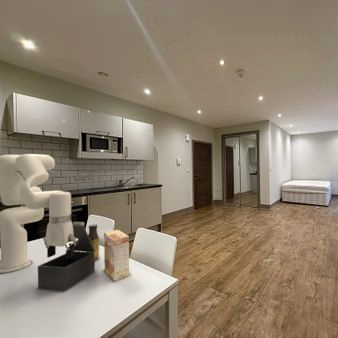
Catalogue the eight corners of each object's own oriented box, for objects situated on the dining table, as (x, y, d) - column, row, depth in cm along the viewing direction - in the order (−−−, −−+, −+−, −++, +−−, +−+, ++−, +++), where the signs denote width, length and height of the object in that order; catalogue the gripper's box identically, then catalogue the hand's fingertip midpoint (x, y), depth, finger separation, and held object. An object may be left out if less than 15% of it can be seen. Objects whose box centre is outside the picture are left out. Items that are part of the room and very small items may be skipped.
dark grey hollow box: (64, 291, 82) (64, 268, 82) (37, 288, 84) (37, 266, 84) (94, 271, 97) (94, 252, 97) (71, 269, 99) (71, 250, 99)
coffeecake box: (103, 270, 98) (103, 232, 98) (118, 264, 104) (118, 229, 104) (113, 281, 88) (113, 239, 88) (129, 275, 93) (129, 235, 93)
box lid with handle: (82, 226, 90) (90, 219, 95) (57, 225, 92) (66, 218, 97) (94, 252, 97) (101, 244, 101) (70, 250, 99) (78, 243, 103)
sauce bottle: (92, 263, 106) (91, 227, 106) (82, 262, 107) (82, 226, 107) (101, 257, 112) (101, 223, 112) (93, 256, 114) (92, 223, 114)
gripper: (35, 220, 84) (35, 259, 84) (69, 222, 82) (69, 262, 82) (52, 216, 92) (52, 252, 92) (84, 217, 89) (84, 254, 89)
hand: (60, 256), depth 87 cm, fingers open, 9 cm apart
